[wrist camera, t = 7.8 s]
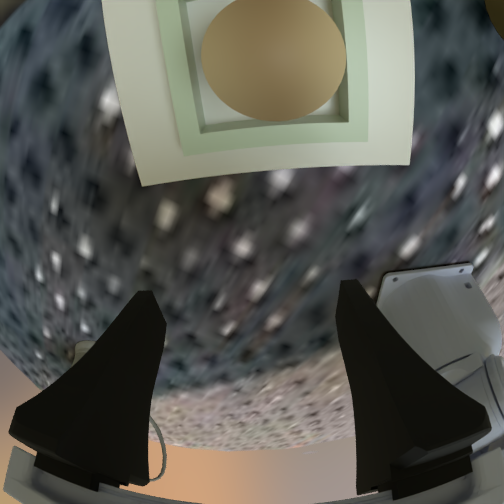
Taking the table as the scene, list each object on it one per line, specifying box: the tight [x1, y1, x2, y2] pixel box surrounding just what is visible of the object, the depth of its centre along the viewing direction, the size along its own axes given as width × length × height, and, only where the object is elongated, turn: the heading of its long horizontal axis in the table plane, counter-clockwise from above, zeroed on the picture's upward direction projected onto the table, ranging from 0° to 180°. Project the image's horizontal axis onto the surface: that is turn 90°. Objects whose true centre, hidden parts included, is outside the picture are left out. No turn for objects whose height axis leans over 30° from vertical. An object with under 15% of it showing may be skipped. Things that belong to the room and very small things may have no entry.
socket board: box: [102, 0, 415, 187], centre depth 12 cm, size 16×13×3 cm
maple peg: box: [201, 0, 346, 121], centre depth 10 cm, size 4×4×6 cm
